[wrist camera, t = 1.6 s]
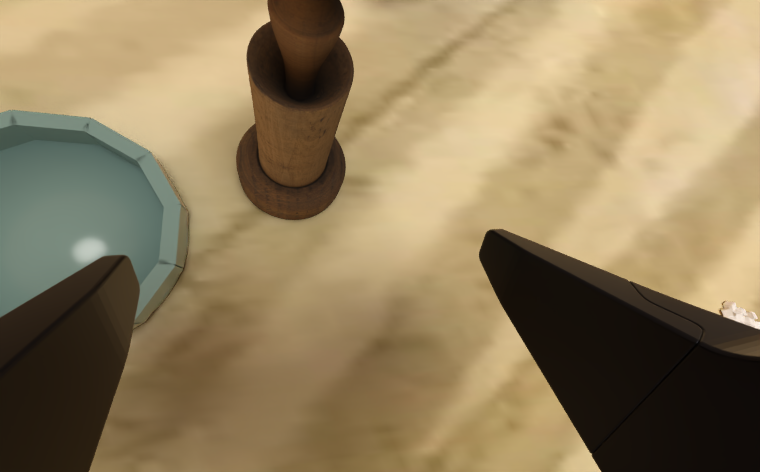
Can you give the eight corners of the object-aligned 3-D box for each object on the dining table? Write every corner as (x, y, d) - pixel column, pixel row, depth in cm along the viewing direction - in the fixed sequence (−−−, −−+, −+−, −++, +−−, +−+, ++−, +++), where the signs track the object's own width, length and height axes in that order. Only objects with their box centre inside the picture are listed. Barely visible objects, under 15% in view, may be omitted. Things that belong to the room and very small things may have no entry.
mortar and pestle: (248, 227, 21) (121, -92, 4) (232, 133, 22) (80, -431, 5) (348, 213, 23) (530, -39, 6) (330, 128, 24) (448, -287, 7)
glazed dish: (-28, 416, 16) (-74, 432, 14) (-151, 190, 16) (-213, 173, 14) (228, 279, 20) (222, 276, 18) (127, 104, 21) (110, 81, 19)
